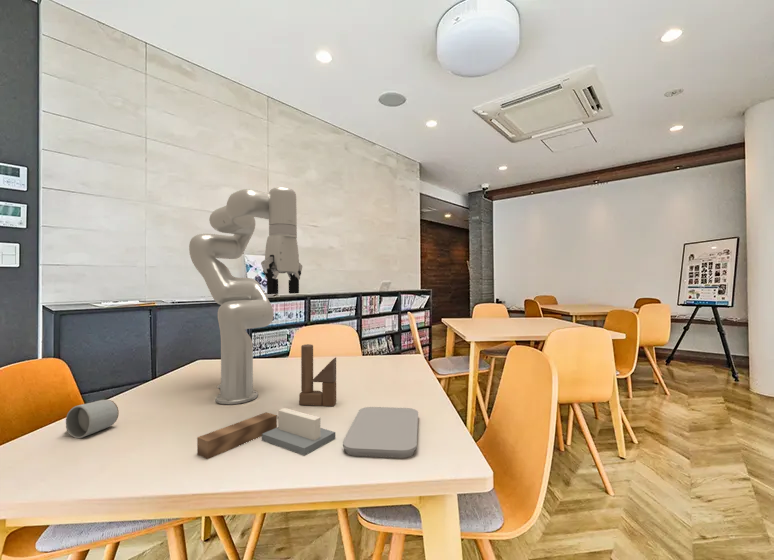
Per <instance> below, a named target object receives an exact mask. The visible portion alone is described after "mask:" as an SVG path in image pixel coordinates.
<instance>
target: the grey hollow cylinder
mask: <svg viewBox="0 0 774 560" xmlns="http://www.w3.org/2000/svg"><path fill="white" fill-rule="evenodd" d="M119 411H120V410H119V406H118V405H117V403H116V402H115V401H114V400H111V399H100V400H95V401H92V402H87V403H84V404H83V403H82V404H79V405H75V406H73V407H72V408H70V410H69V411H68V412H67V414H66V417H65V429H66V432H68V434H69V435H70V436H71V437H73V438H75V439H82V438H85V437H88V436H90V435H92V434H93V435H94V434H95V433H97V432H100V431H103V430H105V429H108V428H109V427H112V426H113V425H114V424H115V423H116V422H117V420H118V417H119V413H120V412H119Z"/></svg>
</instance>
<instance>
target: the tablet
mask: <svg viewBox="0 0 774 560" xmlns="http://www.w3.org/2000/svg"><path fill="white" fill-rule="evenodd" d="M418 424H419V410H417V409H415V408H411V407H391V406H390V407H388V406H385V407H384V406H382V407H381V406H365V407H361V408H360V409H359V410H358V412H357V413H356V416H355V417H354V420H353V422H352V424H351V425H350V426H349V428H348V431H347V433H346V434H345V437H344V439H343V440H342V447H343V449H344V450H345V452H346V454H348V455H349V456H353V457H354V456H355V457H376V458H394V459H395V458H398V459H403V458H410V457H411V456H413V455H414V453H415V451H416V450H417V448H418V447H417V446H418V426H419V425H418Z"/></svg>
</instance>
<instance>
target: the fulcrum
mask: <svg viewBox="0 0 774 560" xmlns="http://www.w3.org/2000/svg"><path fill="white" fill-rule="evenodd" d="M277 411H278V415H277V417H278V418H277V419H278V420H277V423H278V426H277V428H275V429H272V430H270V431H268V432H265V433H263V434H262V436H261V441H263V442H266V443H268V444H272V445H274V446H277V447H280V448H282V449H286V450H288V451H291V452H294V453H297V454H299V455H303V456H306V455H308V454H310V453H311V452H314V451H315V450H317V449H319V448H321V447H323V446H324V445H326V444H328V443H330V442H332V441H334V440H335V439H336V431H332V430H329V429H327V428H326V429H325V428H322V427H321V417H319V416H316V415H312V414H308V413H305V412H301V411H297V410H293V409H290V408H287V407H284V408H281V409H278V410H277Z"/></svg>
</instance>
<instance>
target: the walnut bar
mask: <svg viewBox="0 0 774 560" xmlns="http://www.w3.org/2000/svg"><path fill="white" fill-rule="evenodd" d="M277 417H278V415H276V414H273V413H271V412H263V413H261V414H260V413H259V414H258V415H255V416H252V417H249V418H246V419H244V420H241V421H239V422H236V423H233V424H231V425H227V426H224V427H222V428H219V429H216V430H214V431H211V432H208V433H205V434H203V435H200V436H197V438H196V439H197V440H196V442H197V443H196V444H197V445H196V446H197V450H196V451H197V453H196V454H197V456H199V457H202V458H204V459H206V460H209V459H212V458H214V457H216V456H219V455H222V454H223V453H226V452H227V451H231V450H233V449H236V448H237V447H240V446H242V445H244V443H245V444H247V443H250V442H251V440H252V441H254V440H256V438H257V439H259V438H262V434H263V433H265V432H268V431H270V430H272V429H275V428H277V427H278V426H277V423H278V420H277V419H278V418H277ZM258 437H259V438H258ZM253 439H254V440H253ZM249 441H250V442H249ZM246 442H247V443H246ZM239 445H240V446H239Z"/></svg>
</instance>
